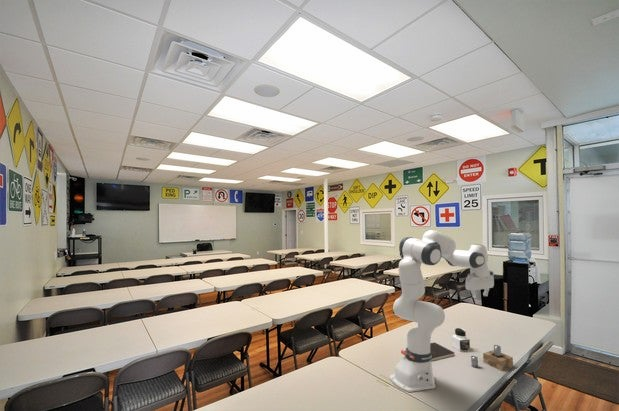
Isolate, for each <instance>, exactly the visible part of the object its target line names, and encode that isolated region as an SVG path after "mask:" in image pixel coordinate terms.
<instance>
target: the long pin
mask: <svg viewBox="0 0 619 411" xmlns="http://www.w3.org/2000/svg"><path fill="white" fill-rule="evenodd" d="M493 350H494V356H496V357H498V358H501V353H502V351H501V350H502V349H501V346H500V345H499V344H493Z"/></svg>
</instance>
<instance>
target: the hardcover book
mask: <svg viewBox="0 0 619 411" xmlns="http://www.w3.org/2000/svg"><path fill="white" fill-rule="evenodd" d="M406 349H407V347H406V348H405V350H406ZM430 350H431V355H432V359H431V362H433V361H436V360H441V359H445V358H450V357H453V356H455V352H454V351H452V350H450V349H448V348H447V347H445V346H442V345H441V344H439V343H436V342H430Z"/></svg>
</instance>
